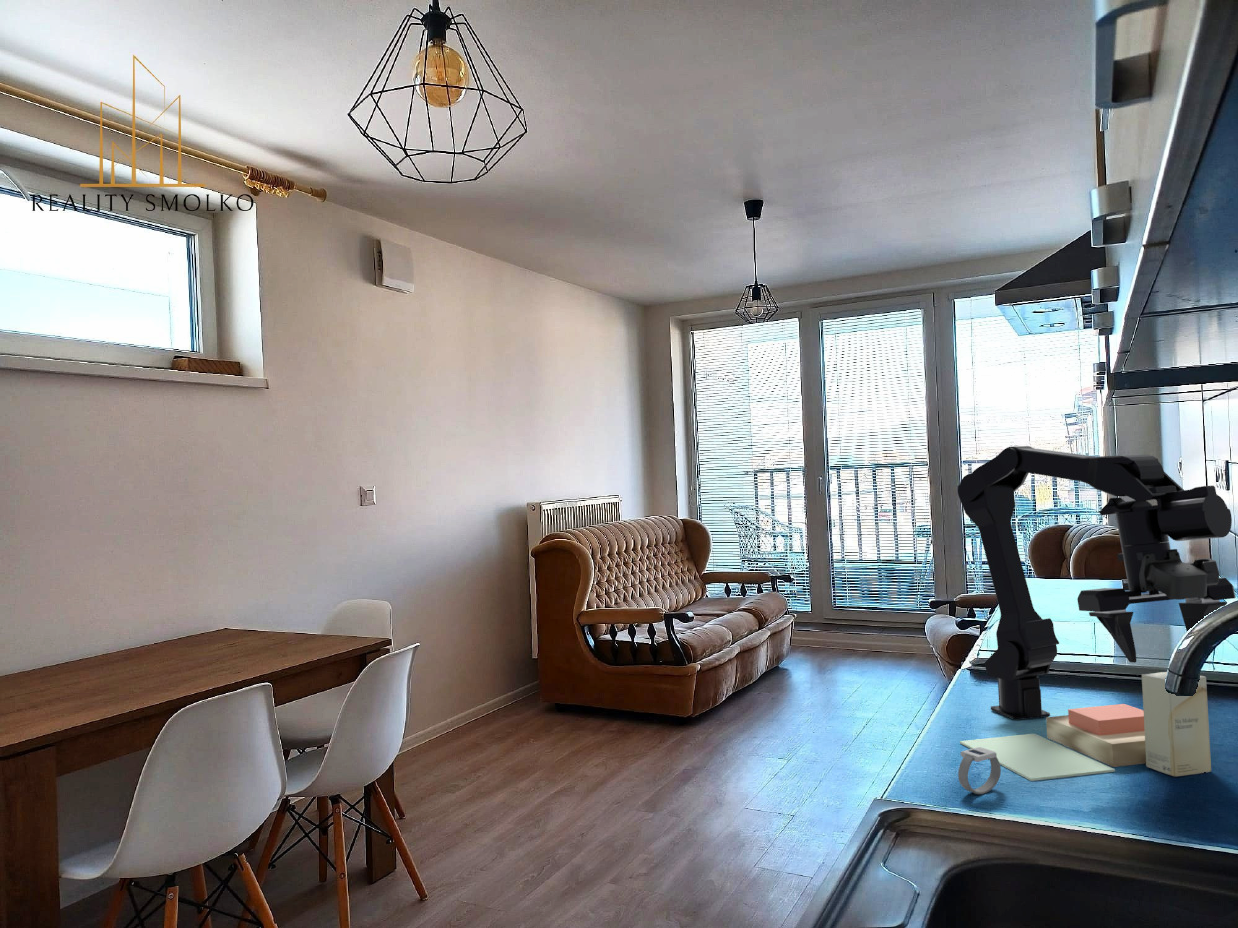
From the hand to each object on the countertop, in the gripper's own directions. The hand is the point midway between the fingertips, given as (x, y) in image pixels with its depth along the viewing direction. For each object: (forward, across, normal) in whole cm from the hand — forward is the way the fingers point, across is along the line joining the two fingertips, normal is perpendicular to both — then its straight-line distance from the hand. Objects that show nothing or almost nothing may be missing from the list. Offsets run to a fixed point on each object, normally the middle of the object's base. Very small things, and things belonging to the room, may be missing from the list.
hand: (1166, 658), depth 115 cm
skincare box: (+14, -4, -4) cm, 15 cm away
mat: (+12, -19, +3) cm, 22 cm away
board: (+12, -6, +5) cm, 15 cm away
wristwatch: (+13, -31, -8) cm, 35 cm away
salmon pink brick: (+8, -6, +5) cm, 11 cm away
